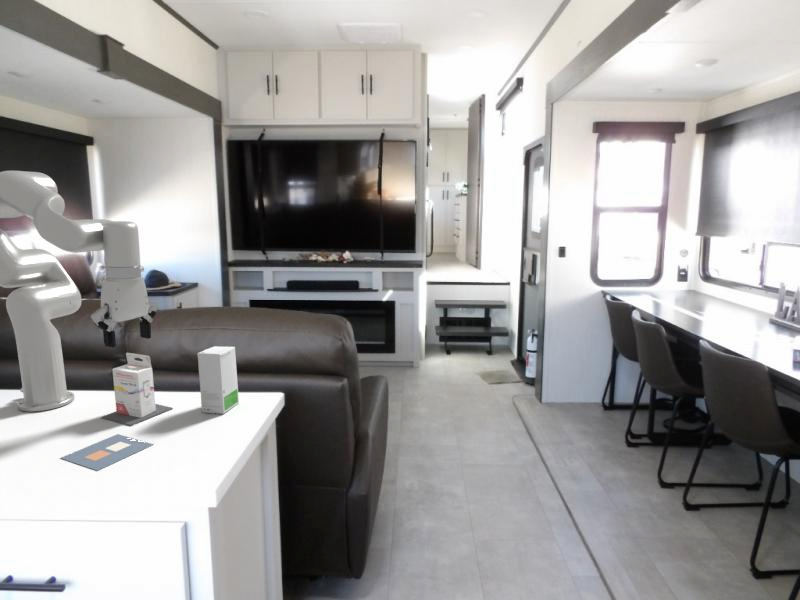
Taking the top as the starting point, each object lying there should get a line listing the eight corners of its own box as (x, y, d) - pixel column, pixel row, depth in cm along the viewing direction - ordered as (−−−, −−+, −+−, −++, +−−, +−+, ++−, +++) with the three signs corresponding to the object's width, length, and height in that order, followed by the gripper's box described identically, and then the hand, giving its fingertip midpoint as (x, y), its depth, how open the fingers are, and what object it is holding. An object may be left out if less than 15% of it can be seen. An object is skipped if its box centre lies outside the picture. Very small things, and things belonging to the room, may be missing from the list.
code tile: (60, 458, 110) (60, 457, 110) (117, 434, 122) (117, 433, 122) (97, 470, 105) (97, 470, 105) (153, 444, 116) (153, 444, 116)
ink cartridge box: (115, 413, 133) (109, 357, 131) (131, 406, 138) (126, 351, 135) (141, 418, 130) (135, 360, 127) (157, 411, 135) (152, 355, 132)
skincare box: (223, 415, 133) (219, 354, 130) (199, 413, 134) (195, 353, 131) (240, 402, 141) (236, 346, 138) (217, 401, 142) (213, 344, 139)
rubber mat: (101, 418, 131) (101, 416, 131) (143, 402, 142) (143, 401, 142) (131, 426, 126) (130, 424, 126) (172, 408, 137) (172, 407, 137)
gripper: (144, 268, 137) (148, 332, 140) (78, 276, 122) (85, 348, 125) (164, 270, 134) (168, 336, 137) (99, 278, 119) (105, 352, 122)
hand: (128, 342), depth 131 cm, fingers open, 9 cm apart
